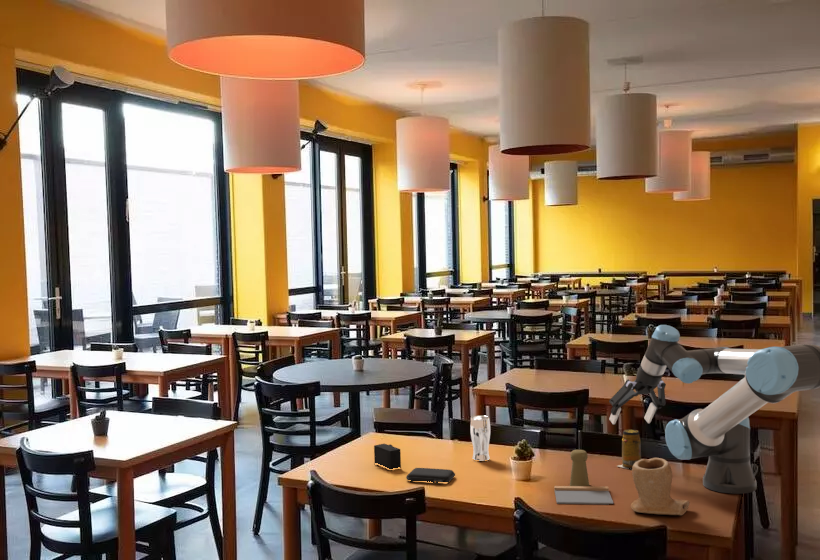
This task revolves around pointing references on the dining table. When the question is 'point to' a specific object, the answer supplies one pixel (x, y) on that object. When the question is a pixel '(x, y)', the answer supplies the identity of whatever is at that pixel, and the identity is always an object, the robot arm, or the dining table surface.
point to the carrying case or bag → (431, 475)
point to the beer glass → (480, 437)
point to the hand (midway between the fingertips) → (629, 421)
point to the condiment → (630, 448)
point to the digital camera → (387, 456)
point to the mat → (582, 495)
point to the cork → (579, 468)
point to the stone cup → (655, 488)
